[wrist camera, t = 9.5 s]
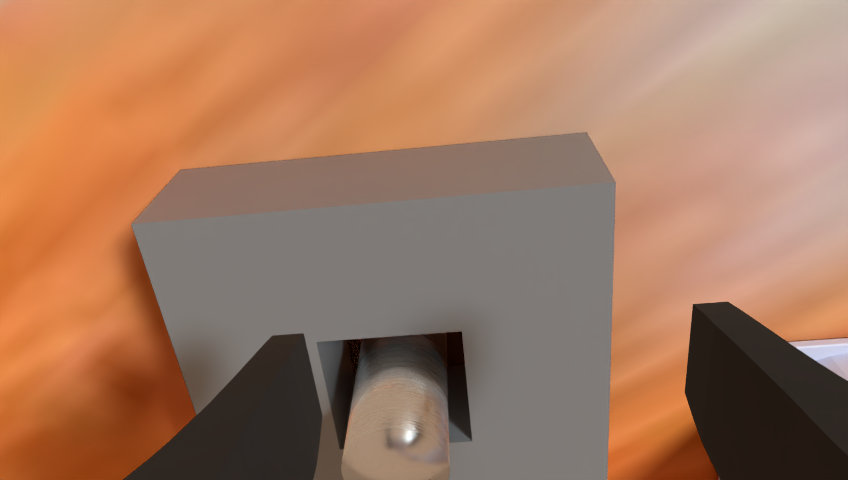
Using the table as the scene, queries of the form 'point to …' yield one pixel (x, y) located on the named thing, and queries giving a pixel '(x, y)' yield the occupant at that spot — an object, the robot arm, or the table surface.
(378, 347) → the metal peg
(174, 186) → the grey square hole plate
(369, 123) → the table surface
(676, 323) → the table surface
